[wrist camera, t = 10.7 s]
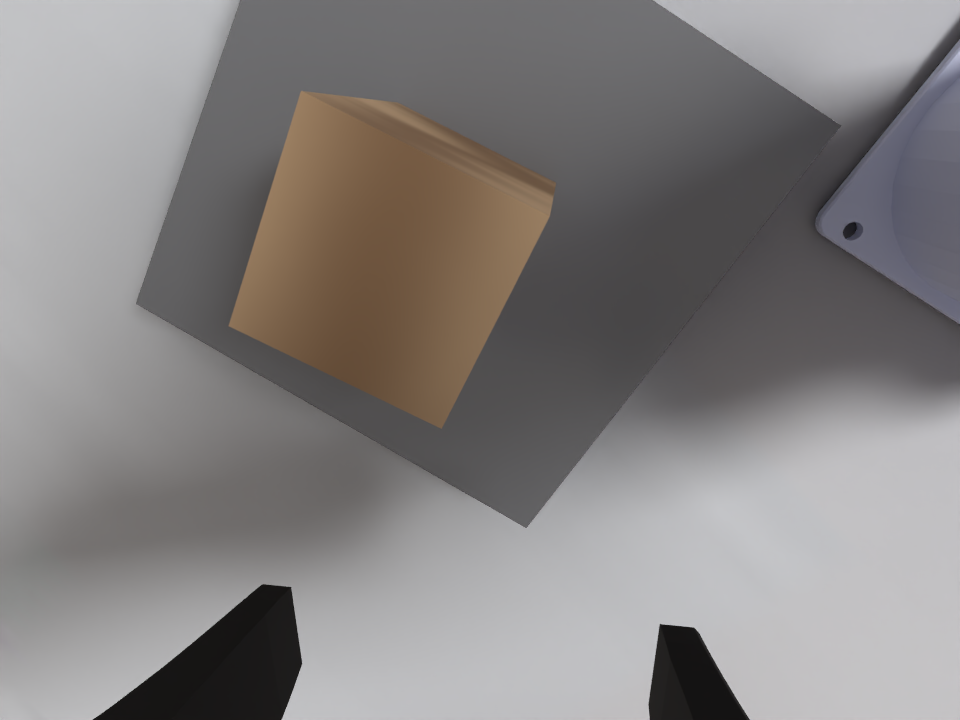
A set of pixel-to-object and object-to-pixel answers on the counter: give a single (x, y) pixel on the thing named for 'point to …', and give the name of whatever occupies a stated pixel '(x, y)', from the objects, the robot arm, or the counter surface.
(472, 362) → the oak block
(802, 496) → the counter surface
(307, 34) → the slate base
